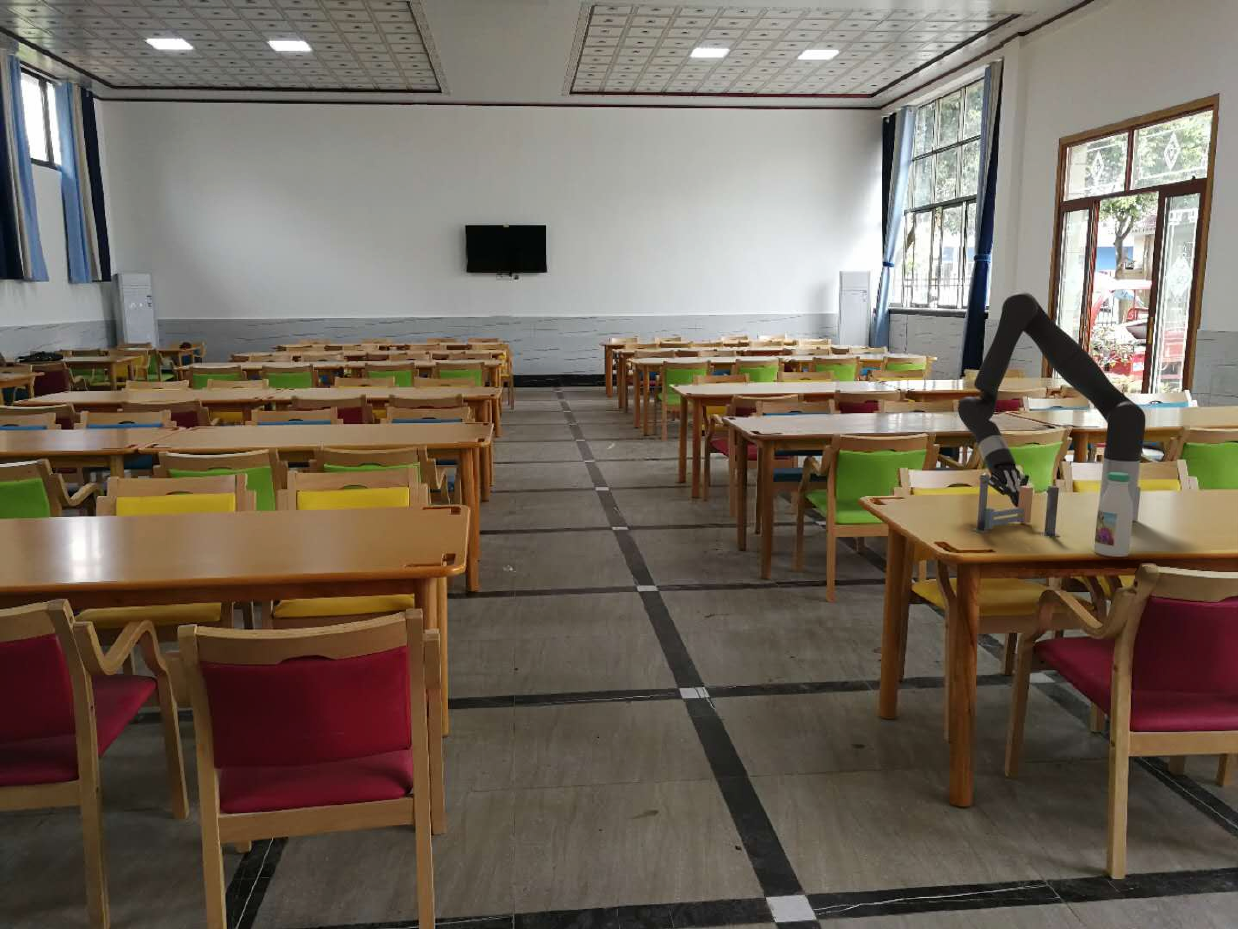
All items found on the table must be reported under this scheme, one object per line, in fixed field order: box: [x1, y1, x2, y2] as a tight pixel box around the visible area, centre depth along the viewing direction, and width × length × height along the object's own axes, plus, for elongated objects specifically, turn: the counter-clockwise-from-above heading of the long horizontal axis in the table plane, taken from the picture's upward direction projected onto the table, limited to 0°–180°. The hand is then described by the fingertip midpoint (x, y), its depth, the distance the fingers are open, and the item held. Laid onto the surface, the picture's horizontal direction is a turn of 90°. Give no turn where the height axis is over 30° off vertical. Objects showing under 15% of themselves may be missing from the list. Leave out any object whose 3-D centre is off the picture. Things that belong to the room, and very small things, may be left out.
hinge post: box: [972, 473, 991, 534], centre depth 254 cm, size 4×4×16 cm
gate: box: [985, 485, 1034, 530], centre depth 259 cm, size 16×2×10 cm, turn 119°
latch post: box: [1038, 485, 1061, 538], centre depth 250 cm, size 4×4×13 cm
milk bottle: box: [1093, 472, 1134, 558], centre depth 231 cm, size 8×8×20 cm
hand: (1020, 505), depth 264 cm, fingers closed
